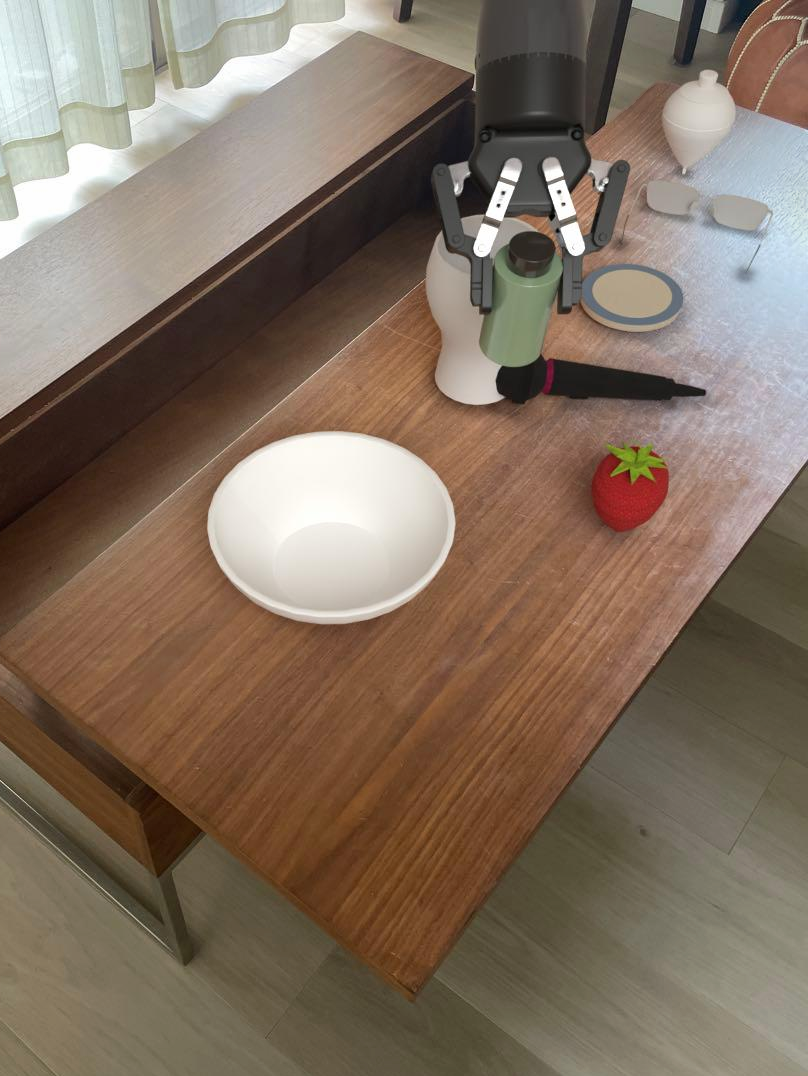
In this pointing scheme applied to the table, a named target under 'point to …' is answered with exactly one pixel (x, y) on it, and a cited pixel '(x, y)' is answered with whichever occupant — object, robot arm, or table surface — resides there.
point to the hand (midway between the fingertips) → (525, 312)
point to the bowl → (331, 526)
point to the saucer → (631, 297)
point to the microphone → (585, 382)
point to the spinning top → (697, 118)
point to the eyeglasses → (724, 207)
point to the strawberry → (629, 486)
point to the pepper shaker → (521, 299)
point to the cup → (463, 317)
